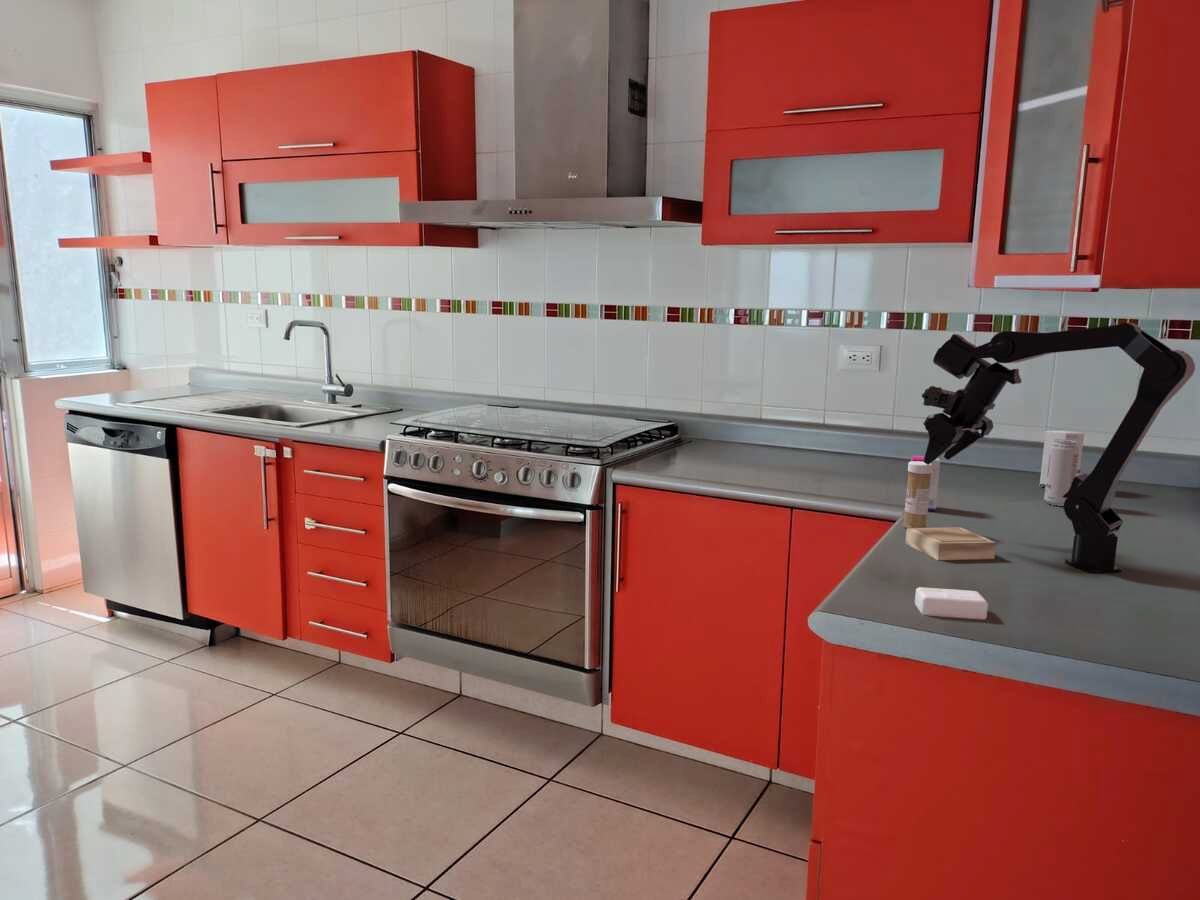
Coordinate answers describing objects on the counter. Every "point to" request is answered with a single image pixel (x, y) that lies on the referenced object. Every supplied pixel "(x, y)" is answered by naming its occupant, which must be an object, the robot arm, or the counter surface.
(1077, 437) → the skincare box
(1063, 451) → the energy drink can
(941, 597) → the soap
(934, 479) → the supplement box
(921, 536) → the beech tray
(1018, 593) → the counter surface
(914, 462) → the sprinkles bottle
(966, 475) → the counter surface
